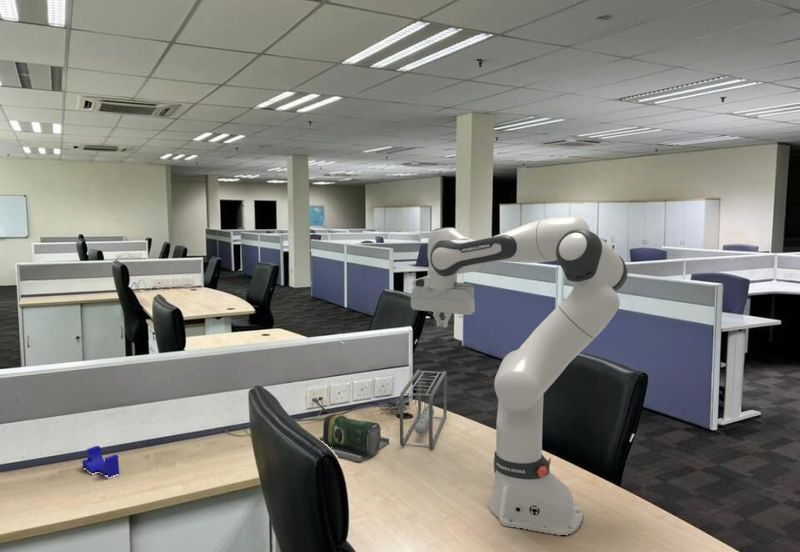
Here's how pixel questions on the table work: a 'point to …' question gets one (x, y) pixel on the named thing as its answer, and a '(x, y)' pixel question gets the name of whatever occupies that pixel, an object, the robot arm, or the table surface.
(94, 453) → the cable clip
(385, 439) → the shallow gray tray
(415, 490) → the table surface
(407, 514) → the table surface
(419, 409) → the newton's cradle
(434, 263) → the robot arm
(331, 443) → the coffee jar
